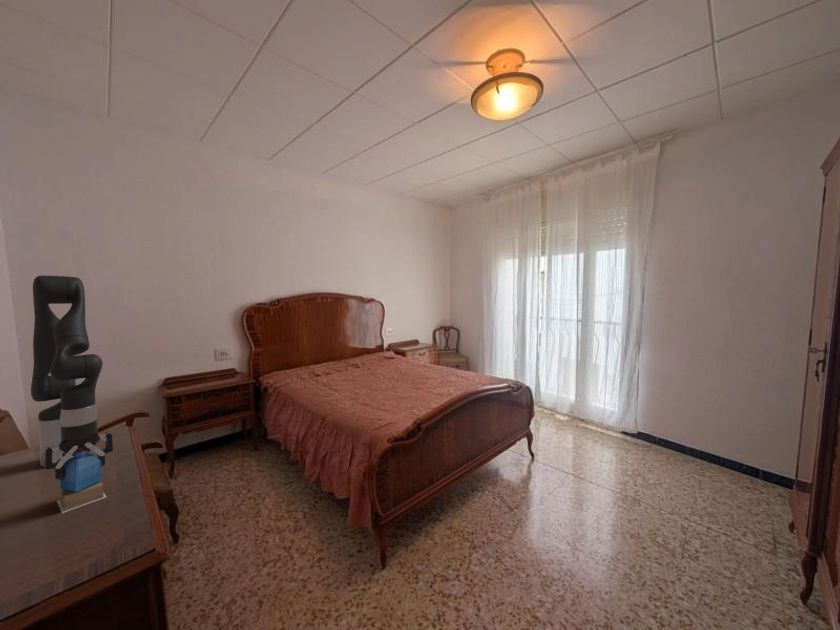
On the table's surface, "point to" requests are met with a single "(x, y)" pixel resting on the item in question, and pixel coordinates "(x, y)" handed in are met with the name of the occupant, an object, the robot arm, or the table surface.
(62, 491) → the walnut block
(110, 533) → the table surface
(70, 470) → the perfume bottle
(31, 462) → the table surface
